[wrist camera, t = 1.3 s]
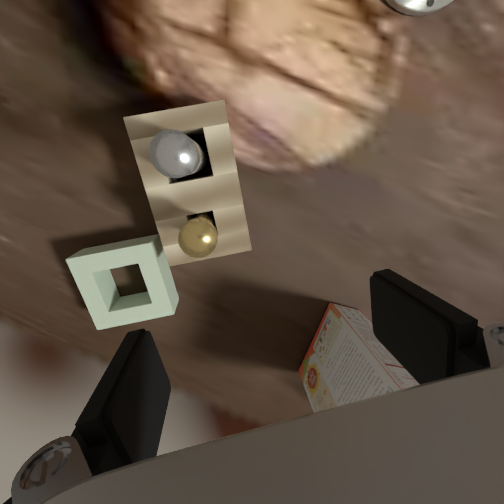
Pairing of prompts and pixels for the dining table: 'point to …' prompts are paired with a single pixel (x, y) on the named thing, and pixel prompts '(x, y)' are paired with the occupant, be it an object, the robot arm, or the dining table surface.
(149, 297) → the block
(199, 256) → the brass knobbed peg
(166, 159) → the steel rod
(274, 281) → the dining table surface
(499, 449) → the robot arm
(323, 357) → the cracker box
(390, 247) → the dining table surface
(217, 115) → the socket block
